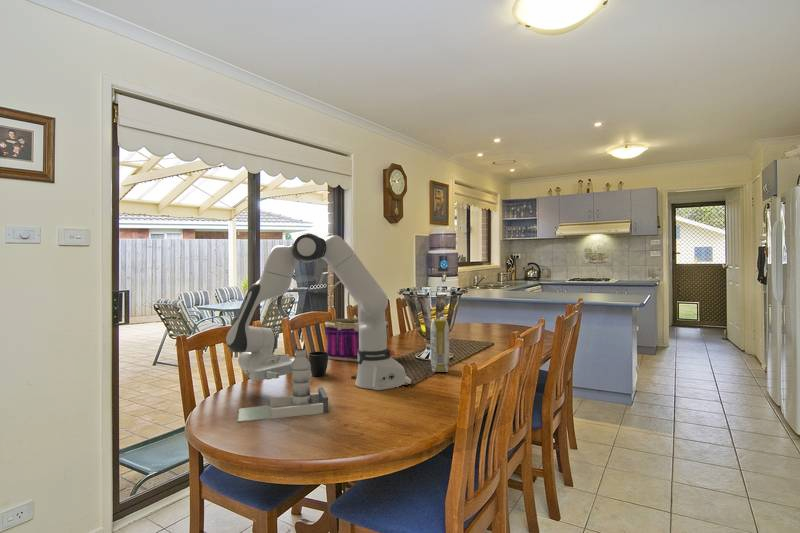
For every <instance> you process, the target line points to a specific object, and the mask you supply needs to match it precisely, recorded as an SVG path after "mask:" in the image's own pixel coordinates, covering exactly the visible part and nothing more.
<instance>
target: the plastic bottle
mask: <svg viewBox="0 0 800 533" xmlns="http://www.w3.org/2000/svg"><path fill="white" fill-rule="evenodd" d="M307 355H308V353H307V349H306V348H297V349H295V350H294V357H295V359H294V360H293V362H292V364H291V371H292V373H291V375H292V376H291V377H292V394H291V396H292V405H291V406H297V405H307V404H313V403H312V399H311V394H312V393H311V389H310V388H311V386H310V378H311V376H310V375H311V370H310V368H311V364H310V362H309V358H307Z"/></svg>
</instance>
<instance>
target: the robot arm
mask: <svg viewBox="0 0 800 533" xmlns="http://www.w3.org/2000/svg"><path fill="white" fill-rule="evenodd" d="M318 259H322V260H324V261H325V262H326V263H327V265H328V266H329V268H330V269H331V270H332V271H333V273H334V274H335V275H336V277H337V278H338V279H339V281H341V284H342V285H343V286H344V288H345V289H346V290H347V293H348V292H349V293H350V294H349V295H350V296H351V297H352V299H353V301H355V303H356V304H357V316H358V324H359V349H358V362H357V364H358V365H357V366H358V367H357V372H356V373H357V374H356V379H355V382H354V385H355V386H357V388H362V389H367V390H369V389H370V390H375V391H382V390H388V389H395V387H396V388H400V387H399V386H401V385H402V384H405V383H403V382H407V383H411V382H412V379H411V378H410V377H408V376H407V375H406V371H405V367H404V366H403V365H402V364H401V363H400V362H398V361H397V360H396V359H394V358H393V357H394V356H395V350H393V349H390V348H388V347H387V334H386V322H387V321H386V320H387V319H386V310H387V308H388V305H389V299H388V295H387V294H386V293H385V291H384V290H383V288H382V287H381V286H380V285H379V283H378V282H377V280H376V279H375V278H374V277H373V275H372V274H371V273H370V271H369V270H368V268H366V266H365V265H364V263H363V262H362V261H361V260H360V258H359V257H358V256H357V254H356V253H355V251H354V250H353V248H352V247H351V246H349V244H348V243H347V242H346V241H345V240H344V239H343V238H342V237H341V236H340V235H337V234H335V235H334V234H333V235H330V236H327V237H326V238H322V237H319V236H318V235H315V234H313V233H310V232H304V233H301V234H299V235H297V236H296V237H295V238H294V240H293V242H292V244H291V245H283V244H282V245H276V246H273V247H272V248H271V251H270V252H269V254H268V256H267V258H266V262H265V264H264V268H263V271H262V274H261V276H260V278H259V279H258V280H257V281H256V282H255V283H253V284H251V286H250V287H249V288H248V290H247V292H246V294H245V296H244V299H243V301H242V303H241V304H240V307H239V309H238V312H237V314H236V316H235V318H234V321H233V323H232V324H231V326H230V327H229V329H228V331H227V333H226V336H225V344H226V346H227V348H228V349H229V350H230V351H231V352H232V353H236V354H237V353H240V354H239V356H238V360H237V363H238V365H239V367H240V369H241V370H242V371H243V374H244V375H246V376H248V378H249V379H250V380H252V381H254V382H260V381H264V380H272V379H274V380H275V379H279V378H280V377H281V376H285V375H290V374H292V371H291V364H292V362H293V360H294V359H295V358H296V356H290V354H288V353H287V354H284V353H283V354H274V353H275V351H276V348H277V344H278V340H277V336H276V334H275V331H274V330H273V329H272V328H270V327H262V326H249V325H250V322H251V320H252V318H253V316H254V314H255V311H256V309H257V307H258V306H259V304H261V303H262V302H264V301H267V300H270V299H275V298H279V297H281V296H283V295H284V294H286V293H287V292H288V291H289V289H290V287H291V284H292V279H293V276H294V272H295V269H296V267H297V265H298V264H299V263H312V262H315V261H316V260H318Z"/></svg>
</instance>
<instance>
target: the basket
mask: <svg viewBox="0 0 800 533" xmlns="http://www.w3.org/2000/svg"><path fill="white" fill-rule="evenodd" d="M339 284H342V282H341V281H340V280H339V281H337V282H336V283H335V284H334V285H333V286H332V288H331V290H330V294H329V307H330V312H331V317H332V319H330V320H327V321H325V322H324V328H325V332H326V343H327V344H326V352H328V360H332V361H333V360H335V361H336V360H337V361H346V362H355V363H358V349H359V324H358V317H356V316H355V317H354V316H352V312H351V306H350V305H351V304H350V295H351V294H350V293H349V292H348V291H347V309H348V314H349V317H350V318H336V317H335V313H334V310H333V304H332V296H333V292H334V290H335V288H336V287H337V286H338V285H339ZM388 325H389V322H388V321H386V335H387V334H388V327H389V326H388Z"/></svg>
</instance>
